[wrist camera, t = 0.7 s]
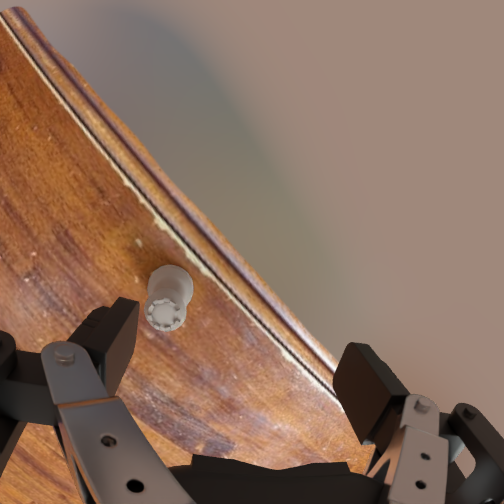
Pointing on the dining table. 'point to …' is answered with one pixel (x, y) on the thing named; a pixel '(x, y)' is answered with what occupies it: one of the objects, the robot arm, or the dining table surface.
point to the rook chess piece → (168, 297)
